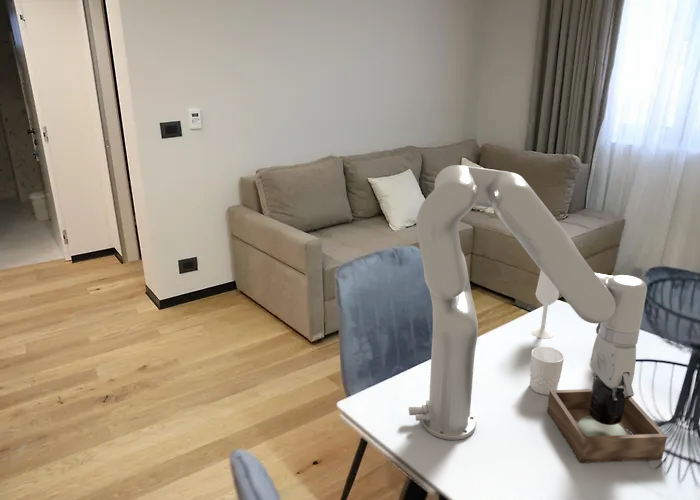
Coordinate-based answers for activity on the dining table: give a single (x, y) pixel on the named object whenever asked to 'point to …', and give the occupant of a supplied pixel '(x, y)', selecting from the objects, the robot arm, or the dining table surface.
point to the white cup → (545, 369)
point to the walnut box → (604, 430)
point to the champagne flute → (545, 303)
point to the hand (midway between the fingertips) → (606, 402)
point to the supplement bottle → (603, 403)
